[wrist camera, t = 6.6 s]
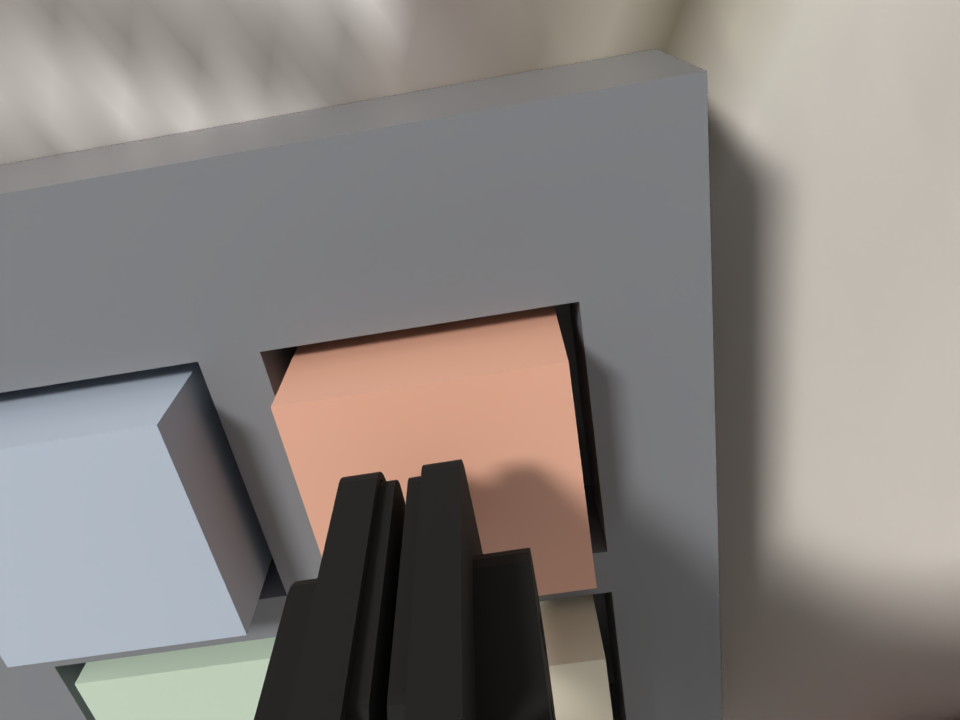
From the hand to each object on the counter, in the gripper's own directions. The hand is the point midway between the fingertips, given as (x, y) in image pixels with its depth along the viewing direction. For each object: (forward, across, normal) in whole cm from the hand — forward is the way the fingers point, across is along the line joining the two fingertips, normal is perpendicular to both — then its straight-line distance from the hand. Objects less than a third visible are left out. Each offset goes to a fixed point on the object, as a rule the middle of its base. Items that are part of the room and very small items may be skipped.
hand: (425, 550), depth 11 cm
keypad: (+5, +3, +3) cm, 7 cm away
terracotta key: (+3, 0, 0) cm, 3 cm away
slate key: (+3, +6, 0) cm, 7 cm away
